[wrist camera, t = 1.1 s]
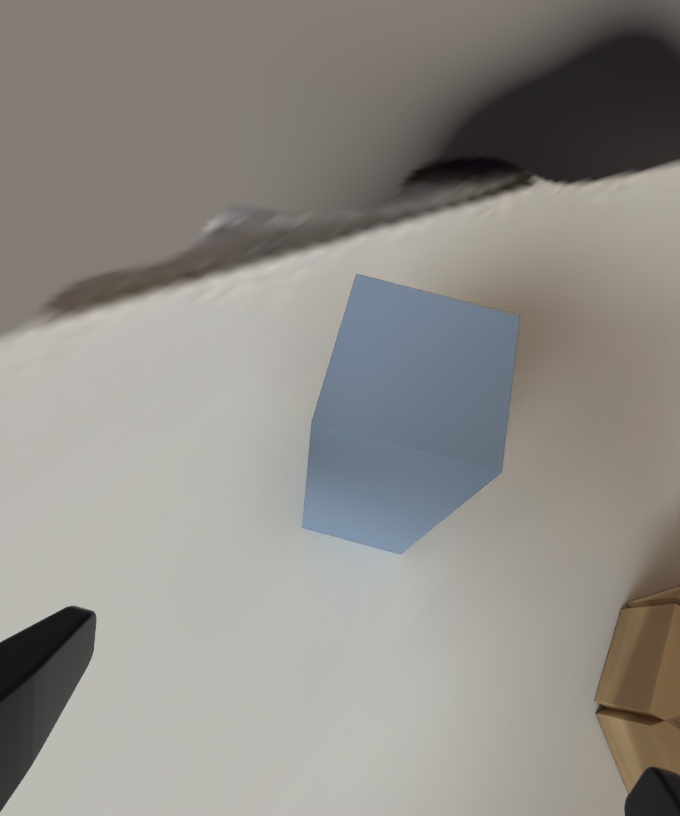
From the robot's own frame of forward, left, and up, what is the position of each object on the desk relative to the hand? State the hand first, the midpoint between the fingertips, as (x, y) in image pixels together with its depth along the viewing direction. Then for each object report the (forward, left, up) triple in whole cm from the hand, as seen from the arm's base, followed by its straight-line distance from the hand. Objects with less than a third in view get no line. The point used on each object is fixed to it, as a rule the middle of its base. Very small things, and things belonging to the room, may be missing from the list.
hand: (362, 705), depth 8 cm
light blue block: (+6, -4, -14) cm, 15 cm away
